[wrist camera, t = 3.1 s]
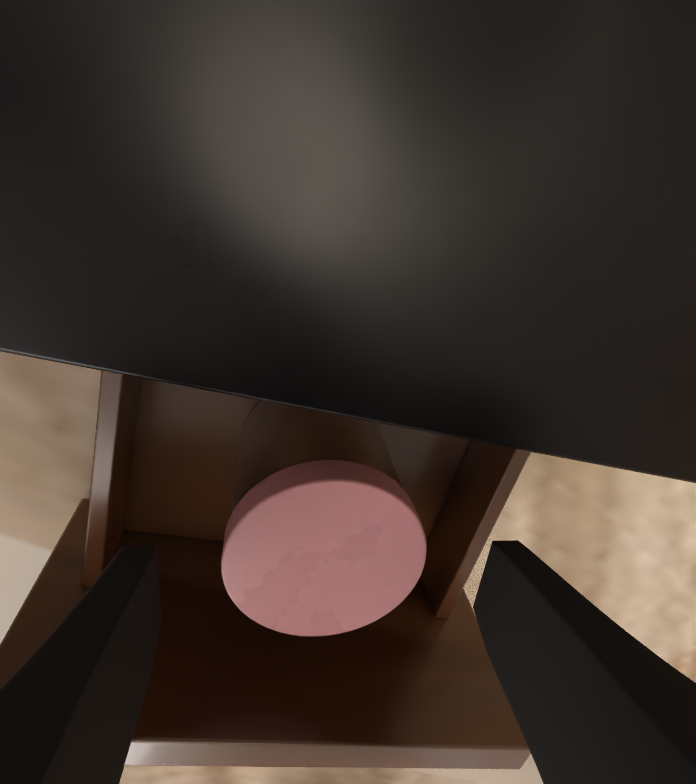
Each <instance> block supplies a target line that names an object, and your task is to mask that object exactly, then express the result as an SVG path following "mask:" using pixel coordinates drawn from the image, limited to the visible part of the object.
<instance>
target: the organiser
mask: <svg viewBox="0 0 696 784" xmlns="http://www.w3.org/2000/svg"><path fill="white" fill-rule="evenodd" d="M0 351H2V352H7V353H13V354H18V355H23V356H28V357H34V358H39V359H44V360H49V361H55V362H60V363H65V364H71V365H76V366H81V367H86V368H92V369H97V370H102V371H108V372H113V373H118V374H123V375H129V376H134V377H139V378H144V379H150V380H155V381H160V382H166V383H171V384H176V385H181V386H187V387H192V388H197V389H203V390H208V391H213V392H218V393H224V394H229V395H234V396H239V397H245V398H250V399H255V400H261V401H266V402H271V403H276V404H282V405H287V406H292V407H298V408H303V409H308V410H313V411H319V412H324V413H329V414H334V415H340V416H345V417H350V418H356V419H361V420H366V421H371V422H377V423H382V424H387V425H392V426H398V427H403V428H408V429H414V430H419V431H424V432H429V433H435V434H440V435H445V436H451V437H456V438H461V439H466V440H472V441H477V442H482V443H487V444H493V445H498V446H503V447H509V448H514V449H519V450H524V451H530V452H535V453H540V454H546V455H551V456H556V457H561V458H567V459H572V460H577V461H582V462H588V463H593V464H598V465H604V466H609V467H614V468H619V469H625V470H630V471H635V472H641V473H646V474H651V475H656V476H662V477H667V478H672V479H677V480H683V481H688V482H693V483H696V0H0Z"/></svg>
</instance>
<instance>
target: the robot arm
mask: <svg viewBox="0 0 696 784" xmlns="http://www.w3.org/2000/svg"><path fill="white" fill-rule="evenodd" d="M473 608H474V612H475V615H476V619H477V622H478V625H479V629H480V632H481V635H482V639H483V642H484V645H485V648H486V651H487V654H488V656H489V659H490V661H491V663H492V666H493V668H494V670H495V673H496V675H497V677H498V680H499V682H500V684H501V686H502V689H503V691H504V693H505V696H506V698H507V700H508V702H509V705H510V707H511V709H512V711H513V714H514V716H515V718H516V720H517V723H518V725H519V727H520V729H521V732H522V734H523V736H524V738H525V741H526V743H527V745H528V747H529V750H530V752H531V754H532V756H533V759H534V761H535V763H536V766H537V768H538V771H539V773H540V776H541V778H542V781H543V783H544V784H696V683H695V682H693V681H692V680H691V679H689V678H688V677H686V676H685V675H683V674H682V673H680V672H679V671H678V670H676V669H675V668H674V667H672V666H671V665H669V664H668V663H667V662H665V661H664V660H663V659H661V658H660V657H659V656H657V655H656V654H655V653H653V652H652V651H651V650H649V649H648V648H647V647H646V646H644V645H643V644H642V643H640V642H639V641H638V640H637V639H635V638H634V637H633V636H631V635H630V634H629V633H627V632H626V631H625V630H624V629H623V628H621V627H620V626H619V625H618V624H616V623H615V622H614V621H613V620H611V619H610V618H609V617H608V616H606V615H605V614H604V613H603V612H602V611H600V610H599V609H598V608H597V607H596V606H594V605H593V604H592V603H591V602H590V601H589V600H587V599H586V598H585V597H584V596H583V595H581V594H580V593H579V592H578V591H577V590H576V589H574V588H573V587H572V586H571V585H570V584H569V583H567V582H566V581H565V580H564V579H563V578H562V577H561V576H559V575H558V574H557V573H556V572H555V571H554V570H552V569H551V568H550V567H549V566H548V565H547V564H545V563H544V562H543V561H542V560H541V559H540V558H539V557H537V556H536V555H535V554H534V553H533V552H531V551H530V550H529V549H528V548H527V547H525V546H524V545H523V544H522V543H520V542H519V541H492V545H491V548H490V551H489V555H488V558H487V562H486V565H485V568H484V572H483V575H482V578H481V582H480V585H479V589H478V592H477V595H476V599H475V602H474V605H473ZM161 619H162V617H161V603H160V589H159V575H158V561H157V547H156V545H142V546H123V547H122V548H121V549H120V550H118V552H117V553H116V554H115V556H114V557H113V558H112V560H111V561H110V562H109V564H108V565H107V566H106V568H105V569H104V570H103V572H102V573H101V574H100V575H99V577H98V578H97V579H96V580H95V582H94V583H93V584H92V585H91V587H90V588H89V589H88V590H87V592H86V593H85V594H84V595H83V597H82V598H81V599H80V600H79V601H78V603H77V604H76V605H75V606H74V607H73V609H72V610H71V611H70V612H69V613H68V614H67V616H66V617H65V618H64V619H63V620H62V621H61V623H60V624H59V625H58V626H57V627H56V628H55V629H54V631H53V632H52V633H51V634H50V635H49V636H48V638H47V639H46V640H45V641H44V642H43V643H42V644H41V645H40V647H39V648H38V649H37V650H36V651H35V652H34V653H33V654H32V655H31V656H30V657H29V658H28V659H27V661H26V662H25V663H24V664H23V665H22V666H21V667H20V668H19V669H18V670H17V671H16V672H15V673H14V674H13V675H12V677H11V678H10V679H9V680H8V681H7V682H6V683H5V684H4V685H3V686H2V687H1V688H0V784H119V782H120V778H121V775H122V772H123V768H124V765H125V762H126V758H127V755H128V751H129V748H130V745H131V741H132V738H133V734H134V731H135V728H136V724H137V721H138V718H139V714H140V711H141V707H142V704H143V700H144V697H145V694H146V690H147V687H148V683H149V680H150V676H151V673H152V668H153V663H154V658H155V652H156V647H157V641H158V636H159V630H160V625H161Z"/></svg>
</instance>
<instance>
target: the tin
mask: <svg viewBox="0 0 696 784" xmlns="http://www.w3.org/2000/svg"><path fill="white" fill-rule="evenodd" d="M426 547H427V544H426V537H425V533H424V530H423V527H422V524H421V521H420V519H419V517H418V514H417V512H416V509H415V507H414V505H413V503H412V501H411V499H410V497H409V496H408V494H407V493H406V492H405V490H404V489H403V488H402V485H401V483H400V480H399V478H398V475H397V473H396V470H395V468H394V465H393V463H392V460H391V457H390V455H389V452H388V450H387V447H386V445H385V442H384V440H383V437H382V435H381V432H380V430H379V427H378V424H377V422H371V421H366V420H361V419H356V418H350V417H345V416H340V415H334V414H329V413H324V412H319V411H313V410H308V409H303V408H298V407H292V406H287V405H282V404H276V403H271V402H266V401H261V402H259V403H258V404H257V406H256V407H255V408H254V409H253V410H252V411H251V413H250V414H249V416H248V417H247V419H246V421H245V424H244V426H243V429H242V432H241V438H240V446H239V454H238V463H237V472H236V480H235V489H234V497H233V506H232V514H231V516H230V518H229V520H228V524H227V527H226V530H225V537H224V544H223V552H222V560H221V573H222V578H223V582H224V585H225V588H226V590H227V593H228V594H229V596H230V598H231V599H232V601H233V602H234V604H235V605H236V606H237V607H238V608H239V609H240V610H241V611H242V612H243V613H244V614H245V615H246V616H248V617H249V618H250V619H252V620H254V621H255V622H257V623H258V624H260V625H263V626H265V627H267V628H269V629H272V630H275V631H278V632H282V633H286V634H290V635H298V636H327V635H334V634H340V633H344V632H348V631H352V630H355V629H358V628H360V627H363V626H365V625H368V624H370V623H372V622H374V621H376V620H378V619H379V618H381V617H383V616H385V615H386V614H387V613H389V612H390V611H392V610H393V609H394V608H395V607H397V606H398V605H399V604H400V603H401V602H402V601H403V600H404V599H405V598H406V597H407V596H408V595H409V594H410V592H411V591H412V589H413V588H414V587H415V585H416V583H417V581H418V580H419V578H420V576H421V573H422V570H423V568H424V564H425V559H426Z"/></svg>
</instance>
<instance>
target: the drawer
mask: <svg viewBox="0 0 696 784" xmlns="http://www.w3.org/2000/svg"><path fill="white" fill-rule="evenodd" d="M259 402H261V400H255V399H250V398H245V397H239V396H234V395H229V394H224V393H218V392H213V391H208V390H203V389H197V388H192V387H187V386H181V385H176V384H171V383H166V382H160V381H155V380H150V379H144V378H139V377H134V376H129V375H123V374H118V373H113V372H108V371H102V370H101V381H100V392H99V403H98V414H97V425H96V436H95V447H94V458H93V469H92V480H91V491H90V499H86V498H84V499H82V500H81V502H80V504H79V505H78V507H77V509H76V511H75V512H74V514H73V516H72V518H71V520H70V521H69V523H68V525H67V527H66V528H65V530H64V532H63V534H62V536H61V537H60V539H59V541H58V543H57V545H56V546H55V548H54V550H53V552H52V554H51V556H50V557H49V559H48V561H47V563H46V564H45V566H44V568H43V570H42V571H41V573H40V575H39V577H38V578H37V580H36V582H35V584H34V585H33V587H32V589H31V591H30V593H29V595H28V596H27V598H26V600H25V602H24V603H23V605H22V607H21V609H20V610H19V612H18V614H17V616H16V618H15V619H14V621H13V623H12V625H11V627H10V628H9V630H8V632H7V634H6V636H5V637H4V639H3V641H2V643H1V644H0V688H1V687H2V686H3V685H4V684H5V683H6V682H7V681H8V680H9V679H10V678H11V677H12V675H13V674H14V673H15V672H16V671H17V670H18V669H19V668H20V667H21V666H22V665H23V664H24V663H25V662H26V661H27V659H28V658H29V657H30V656H31V655H32V654H33V653H34V652H35V651H36V650H37V649H38V648H39V647H40V645H41V644H42V643H43V642H44V641H45V640H46V639H47V638H48V636H49V635H50V634H51V633H52V632H53V631H54V629H55V628H56V627H57V626H58V625H59V624H60V623H61V621H62V620H63V619H64V618H65V617H66V616H67V614H68V613H69V612H70V611H71V610H72V609H73V607H74V606H75V605H76V604H77V603H78V601H79V600H80V599H81V598H82V597H83V595H84V594H85V593H86V592H87V590H88V589H89V588H90V587H91V585H92V584H93V583H94V582H95V580H96V579H97V578H98V577H99V575H100V574H101V573H102V572H103V570H104V569H105V568H106V566H107V565H108V564H109V562H110V561H111V560H112V558H113V557H114V556H115V554H116V553H117V552H118V550H120V549H121V548H122V547H123V546H142V545H156V547H157V561H158V575H159V589H160V603H161V617H162V619H161V625H160V630H159V636H158V641H157V647H156V652H155V658H154V663H153V668H152V673H151V676H150V680H149V683H148V687H147V690H146V694H145V697H144V700H143V704H142V707H141V711H140V714H139V718H138V721H137V724H136V728H135V731H134V734H133V738H132V741H131V745H130V748H129V751H128V755H127V758H126V762H125V765H144V766H248V767H352V768H461V769H520V768H521V767H522V766H523V764H524V763H525V761H526V760H527V758H528V757H529V755H530V754H531V752H530V750H529V747H528V745H527V743H526V741H525V738H524V736H523V734H522V732H521V729H520V727H519V725H518V723H517V720H516V718H515V716H514V714H513V711H512V709H511V707H510V705H509V702H508V700H507V698H506V696H505V693H504V691H503V689H502V686H501V684H500V682H499V680H498V677H497V675H496V673H495V670H494V668H493V666H492V663H491V661H490V659H489V656H488V654H487V651H486V648H485V645H484V642H483V639H482V635H481V632H480V629H479V625H478V622H477V619H476V616H475V614H474V611H473V609H472V607H471V605H470V602H469V600H468V598H467V596H466V593H465V591H464V589H463V587H464V585H465V583H466V581H467V579H468V577H469V575H470V573H471V571H472V569H473V567H474V565H475V563H476V561H477V559H478V557H479V555H480V553H481V551H482V549H483V547H484V545H485V543H486V541H487V539H488V537H489V535H490V533H491V531H492V529H493V527H494V525H495V523H496V521H497V519H498V517H499V515H500V513H501V511H502V509H503V507H504V505H505V503H506V501H507V499H508V497H509V495H510V493H511V491H512V489H513V487H514V485H515V483H516V481H517V479H518V476H519V474H520V472H521V470H522V468H523V466H524V464H525V462H526V460H527V458H528V456H529V454H530V451H524V450H519V449H514V448H509V447H503V446H498V445H493V444H487V443H482V442H477V441H472V440H466V439H461V438H456V437H451V436H445V435H440V434H435V433H429V432H424V431H419V430H414V429H408V428H403V427H398V426H392V425H387V424H382V423H377V424H378V427H379V430H380V432H381V435H382V437H383V440H384V442H385V445H386V447H387V450H388V452H389V455H390V457H391V460H392V463H393V465H394V468H395V470H396V473H397V475H398V478H399V480H400V483H401V485H402V488H403V489H404V490H405V492H406V493H407V494H408V496H409V497H410V499H411V501H412V503H413V505H414V507H415V509H416V512H417V514H418V517H419V519H420V521H421V524H422V527H423V530H424V533H425V537H426V544H427V547H426V559H425V564H424V568H423V570H422V573H421V576H420V578H419V580H418V581H417V583H416V585H415V587H414V588H413V589H412V591H411V592H410V594H409V595H408V596H407V597H406V598H405V599H404V600H403V601H402V602H401V603H400V604H399V605H398V606H397V607H395V608H394V609H393V610H392V611H390V612H389V613H387V614H386V615H385V616H383V617H381V618H379V619H378V620H376V621H374V622H372V623H370V624H368V625H365V626H363V627H360V628H358V629H355V630H352V631H348V632H344V633H340V634H334V635H327V636H298V635H290V634H286V633H282V632H278V631H275V630H272V629H269V628H267V627H265V626H263V625H260V624H258V623H257V622H255V621H254V620H252V619H250V618H249V617H248V616H246V615H245V614H244V613H243V612H242V611H241V610H240V609H239V608H238V607H237V606H236V605H235V604H234V602H233V601H232V599H231V598H230V596H229V594H228V593H227V590H226V588H225V585H224V582H223V578H222V573H221V560H222V552H223V544H224V537H225V530H226V527H227V524H228V520H229V518H230V516H231V514H232V506H233V497H234V489H235V480H236V472H237V463H238V454H239V446H240V438H241V432H242V429H243V426H244V424H245V421H246V419H247V417H248V416H249V414H250V413H251V411H252V410H253V409H254V408H255V407H256V406H257V404H258V403H259Z"/></svg>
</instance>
